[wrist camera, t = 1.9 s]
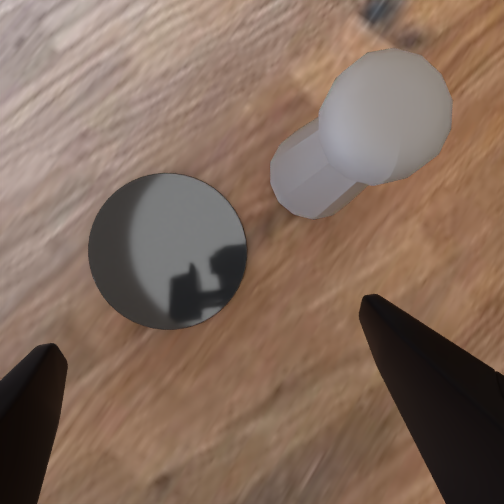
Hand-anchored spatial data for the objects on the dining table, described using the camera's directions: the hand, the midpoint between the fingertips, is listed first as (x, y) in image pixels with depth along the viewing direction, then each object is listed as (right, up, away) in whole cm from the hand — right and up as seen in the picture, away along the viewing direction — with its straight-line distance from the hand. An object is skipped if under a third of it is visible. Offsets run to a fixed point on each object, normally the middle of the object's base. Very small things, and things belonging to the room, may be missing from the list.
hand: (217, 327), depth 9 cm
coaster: (-5, +2, +13) cm, 14 cm away
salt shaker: (+5, +7, +14) cm, 16 cm away
